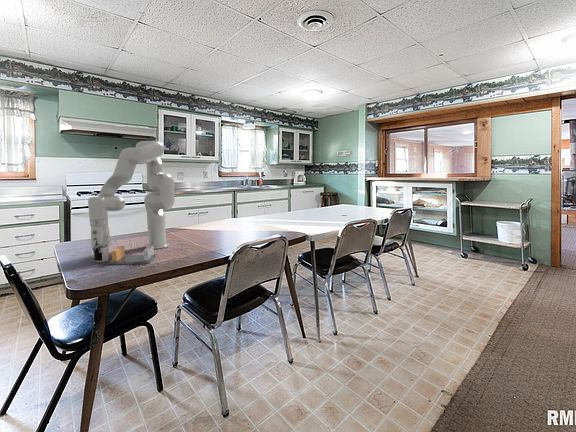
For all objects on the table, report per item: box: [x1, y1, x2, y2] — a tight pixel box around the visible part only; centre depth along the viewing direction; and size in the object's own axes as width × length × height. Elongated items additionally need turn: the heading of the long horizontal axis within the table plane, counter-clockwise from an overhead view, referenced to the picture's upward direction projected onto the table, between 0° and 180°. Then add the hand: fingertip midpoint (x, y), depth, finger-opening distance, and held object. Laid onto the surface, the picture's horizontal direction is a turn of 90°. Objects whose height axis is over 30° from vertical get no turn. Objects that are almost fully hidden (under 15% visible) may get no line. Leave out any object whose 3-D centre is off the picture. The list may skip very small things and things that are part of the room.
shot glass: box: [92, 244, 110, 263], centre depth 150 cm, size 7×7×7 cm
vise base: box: [108, 246, 158, 266], centre depth 151 cm, size 18×12×6 cm, turn 98°
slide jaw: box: [111, 245, 126, 262], centre depth 150 cm, size 2×10×5 cm, turn 8°
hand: (101, 258), depth 151 cm, fingers closed on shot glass, 6 cm apart
